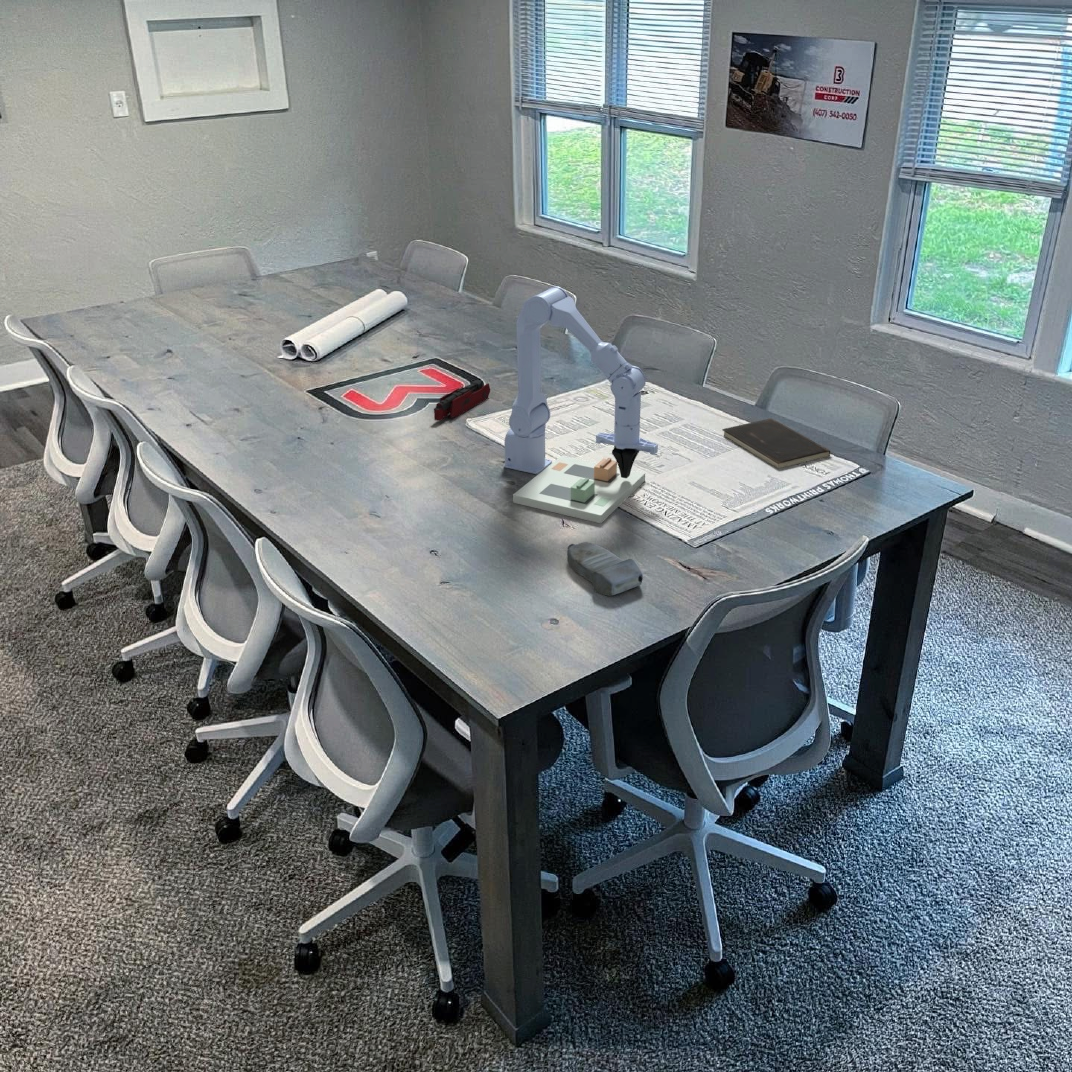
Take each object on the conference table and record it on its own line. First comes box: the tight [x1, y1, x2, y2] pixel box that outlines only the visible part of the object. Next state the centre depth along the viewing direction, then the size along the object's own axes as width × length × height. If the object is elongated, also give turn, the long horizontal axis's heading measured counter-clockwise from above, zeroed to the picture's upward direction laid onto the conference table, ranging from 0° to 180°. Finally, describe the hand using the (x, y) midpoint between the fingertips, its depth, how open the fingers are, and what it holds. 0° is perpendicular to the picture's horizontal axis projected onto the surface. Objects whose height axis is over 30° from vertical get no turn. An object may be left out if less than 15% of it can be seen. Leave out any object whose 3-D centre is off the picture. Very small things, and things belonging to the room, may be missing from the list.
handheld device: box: [566, 541, 644, 596], centre depth 211 cm, size 10×20×5 cm, turn 34°
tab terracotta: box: [594, 457, 618, 481], centre depth 245 cm, size 4×5×4 cm
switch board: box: [512, 454, 646, 524], centre depth 243 cm, size 22×24×2 cm
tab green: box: [571, 478, 595, 503], centre depth 235 cm, size 4×5×4 cm
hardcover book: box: [722, 417, 831, 469], centre depth 264 cm, size 16×23×2 cm
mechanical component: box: [433, 379, 491, 421], centre depth 288 cm, size 23×4×6 cm, turn 150°
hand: (625, 476), depth 243 cm, fingers closed
